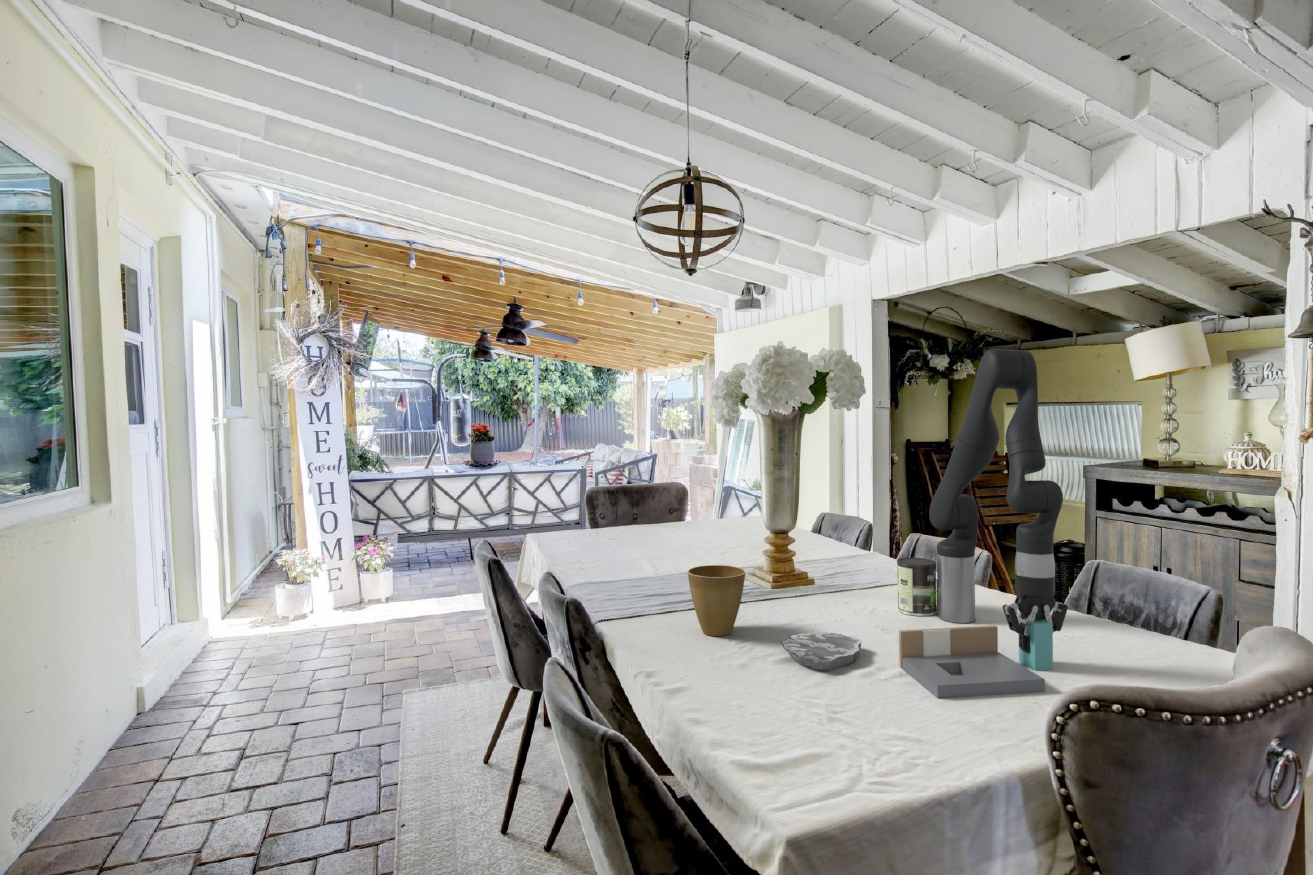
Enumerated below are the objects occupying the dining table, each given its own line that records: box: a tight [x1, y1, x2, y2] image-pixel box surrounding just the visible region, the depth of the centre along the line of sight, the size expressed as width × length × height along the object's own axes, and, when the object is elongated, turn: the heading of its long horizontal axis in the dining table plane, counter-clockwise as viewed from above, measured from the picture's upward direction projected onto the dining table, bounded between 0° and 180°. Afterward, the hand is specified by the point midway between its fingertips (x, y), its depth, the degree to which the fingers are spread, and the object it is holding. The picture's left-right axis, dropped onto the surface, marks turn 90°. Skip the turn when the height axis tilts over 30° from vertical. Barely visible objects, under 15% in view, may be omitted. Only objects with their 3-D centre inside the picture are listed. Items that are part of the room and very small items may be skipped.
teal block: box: [1018, 618, 1054, 672], centre depth 144 cm, size 6×4×10 cm
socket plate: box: [898, 625, 1046, 699], centre depth 138 cm, size 16×22×8 cm
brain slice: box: [780, 632, 862, 672], centre depth 153 cm, size 20×17×3 cm
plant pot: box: [687, 564, 746, 637], centre depth 172 cm, size 15×15×16 cm
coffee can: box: [896, 557, 937, 617], centre depth 186 cm, size 10×10×14 cm
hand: (1035, 650), depth 144 cm, fingers closed on teal block, 4 cm apart
